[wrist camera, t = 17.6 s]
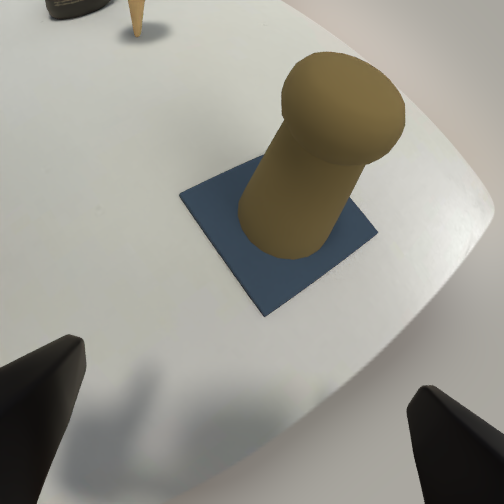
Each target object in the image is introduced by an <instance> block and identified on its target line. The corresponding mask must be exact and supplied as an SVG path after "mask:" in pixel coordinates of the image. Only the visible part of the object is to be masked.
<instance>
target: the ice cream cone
mask: <svg viewBox="0 0 504 504" xmlns="http://www.w3.org/2000/svg"><path fill="white" fill-rule="evenodd" d="M144 2H145V0H128V3H129V8H130V14H131V20H132V25H133V31H134V35H135V36H136V37H139V36H140V34H141V28H142V18H143V10H144Z"/></svg>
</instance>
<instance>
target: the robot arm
mask: <svg viewBox="0 0 504 504" xmlns="http://www.w3.org/2000/svg"><path fill="white" fill-rule="evenodd" d="M85 371H86V355H85V344H84V341H83V339H82V338H80V337H77V336H74V335H70V334H68V335H65V336H63V337H61V338H59V339H57V340H55V341H53V342H51V343H49V344H47V345H45V346H43V347H41V348H39V349H37V350H35V351H33V352H31V353H29V354H27V355H25V356H23V357H21V358H19V359H17V360H15V361H13V362H11V363H9V364H7V365H5V366H3V367H1V368H0V504H37V501H38V498H39V495H40V493H41V490H42V487H43V485H44V482H45V479H46V477H47V474H48V472H49V469H50V466H51V464H52V461H53V459H54V457H55V454H56V452H57V449H58V447H59V445H60V442H61V440H62V437H63V435H64V433H65V431H66V428H67V426H68V423H69V421H70V418H71V415H72V412H73V408H74V405H75V402H76V399H77V396H78V393H79V389H80V386H81V383H82V381H83V378H84V375H85ZM407 418H408V424H409V429H410V435H411V442H412V448H413V454H414V459H415V463H416V467H417V471H418V475H419V479H420V484H421V488H422V492H423V497H424V502H425V504H504V434H503V433H501V432H500V431H499V430H497V429H496V428H494V427H493V426H491V425H490V424H488V423H487V422H486V421H484V420H483V419H481V418H480V417H478V416H477V415H475V414H474V413H473V412H471V411H470V410H468V409H467V408H465V407H464V406H462V405H461V404H460V403H458V402H457V401H455V400H454V399H452V398H451V397H449V396H448V395H447V394H445V393H444V392H442V391H441V390H440V389H438V388H437V387H435V386H433V385H429V386H428V385H426V386H422V387H420V388H419V389H418V391H417V393H416V394H415V395H414V397H413V398H412V400H411V402H410V403H409V405H408V407H407Z"/></svg>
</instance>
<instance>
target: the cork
mask: <svg viewBox="0 0 504 504" xmlns="http://www.w3.org/2000/svg"><path fill="white" fill-rule="evenodd" d="M281 105H282V116H283V118H284V121H283V123H282V125H281V126H280V128H279V130H278V131H277V133H276V135H275V137H274V138H273V140H272V142H271V144H270V145H269V147H268V149H267V151H266V152H265V154H264V156H263V158H262V159H261V161H260V163H259V165H258V167H257V168H256V170H255V172H254V174H253V175H252V177H251V179H250V181H249V183H248V184H247V186H246V188H245V190H244V192H243V194H242V196H241V198H240V200H239V203H238V218H239V222H240V225H241V228H242V230H243V232H244V233H245V235H246V236H247V237H248V239H249V240H250V242H251V243H253V244H254V245H255V246H256V247H258V248H259V249H260V250H261V251H263V252H265V253H267V254H269V255H272V256H274V257H277V258H282V259H291V260H295V259H300V258H304V257H308V256H310V255H311V254H313V253H315V252H316V251H318V250H319V249H320V248H321V247H322V245H323V244H324V243H325V241H326V240H327V238H328V236H329V235H330V233H331V231H332V229H333V227H334V225H335V223H336V221H337V220H338V218H339V216H340V214H341V212H342V210H343V208H344V206H345V204H346V202H347V200H348V198H349V196H350V195H351V193H352V191H353V189H354V187H355V185H356V183H357V181H358V179H359V177H360V175H361V173H362V171H363V169H364V167H365V165H366V164H370V163H372V162H374V161H376V160H378V159H380V158H381V157H383V156H384V155H386V154H387V153H389V152H390V150H391V149H392V148H393V147H394V145H395V144H396V143H397V141H398V140H399V138H400V136H401V135H402V132H403V129H404V127H405V103H404V101H403V99H402V96H401V94H400V93H399V91H398V90H397V88H396V87H395V86H394V85H393V83H392V82H391V81H390V79H388V78H387V77H386V76H385V75H384V74H383V73H382V72H381V71H379V70H378V69H376V68H375V67H373V66H372V65H370V64H369V63H367V62H365V61H362V60H360V59H358V58H356V57H353V56H350V55H346V54H343V53H335V52H318V53H313V54H311V55H309V56H307V57H306V58H304V59H302V60H301V61H299V62H298V63H296V64H295V66H294V67H293V69H292V70H291V71H290V73H289V75H288V76H287V78H286V80H285V82H284V85H283V88H282V92H281Z"/></svg>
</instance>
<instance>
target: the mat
mask: <svg viewBox="0 0 504 504" xmlns="http://www.w3.org/2000/svg"><path fill="white" fill-rule="evenodd" d="M263 156H264V155H261V156H259V157H257V158H255V159H252V160H250V161H248V162H245V163H243V164H241V165H239V166H237V167H234V168H232V169H230V170H228V171H226V172H224V173H221V174H219V175H217V176H215V177H213V178H211V179H209V180H206V181H204V182H202V183H200V184H198V185H196V186H194V187H192V188H190V189H188V190H186V191H184V192H182V193H180V194H179V196H180V198H181V199H182V201H183V202H184V204H185V205H186V207H187V208H188V210H189V211H190V212H191V214H192V215H193V217H194V218H195V220H196V221H197V223H198V224H199V225H200V227H201V228H202V230H203V231H204V233H205V234H206V236H207V237H208V238H209V240H210V241H211V243H212V244H213V246H214V247H215V248H216V250H217V251H218V253H219V254H220V256H221V257H222V258H223V260H224V261H225V263H226V264H227V266H228V267H229V268H230V270H231V271H232V273H233V274H234V275H235V277H236V278H237V280H238V281H239V282H240V284H241V285H242V287H243V288H244V289H245V291H246V292H247V294H248V295H249V296H250V298H251V299H252V301H253V302H254V303H255V305H256V306H257V308H258V309H259V310H260V312H261V313H262V314H263V316H264V317H265V316H267V315H268V314H270V313H271V312H272V311H274V310H275V309H277V308H278V307H280V306H281V305H282V304H284V303H285V302H287V301H288V300H289V299H291V298H292V297H294V296H295V295H296V294H298V293H299V292H301V291H302V290H303V289H305V288H306V287H307V286H309V285H310V284H312V283H313V282H314V281H316V280H317V279H318V278H320V277H321V276H322V275H324V274H325V273H327V272H328V271H329V270H331V269H332V268H333V267H335V266H336V265H337V264H339V263H340V262H341V261H343V260H344V259H345V258H346V257H348V256H349V255H350V254H352V253H353V252H354V251H356V250H357V249H358V248H360V247H361V246H362V245H363V244H365V243H366V242H367V241H369V240H370V239H371V238H372V237H374V236H375V235H376V234H377V233H378V231H377V230H376V229H375V228H374V226H373V225H372V224H371V223H370V221H369V220H368V219H367V218H366V216H365V215H364V214H363V213H362V211H361V210H360V209H359V208H358V207H357V205H356V204H355V203H354V202H353V201H352V199H351V198H350V197H349V198H348V200H347V202H346V204H345V206H344V208H343V210H342V212H341V214H340V216H339V218H338V220H337V221H336V223H335V225H334V227H333V229H332V231H331V233H330V235H329V236H328V238H327V240H326V241H325V243H324V244H323V245H322V247H321V248H320V249H319V250H318V251H316V252H315V253H313V254H311V255H310V256H308V257H304V258H300V259H295V260H291V259H282V258H277V257H274V256H272V255H269V254H267V253H265V252H263V251H261V250H260V249H259V248H258V247H256V246H255V245H254V244H253V243H251V242H250V240H249V239H248V237H247V236H246V235H245V233H244V232H243V230H242V228H241V225H240V222H239V218H238V203H239V200H240V198H241V196H242V194H243V192H244V190H245V188H246V186H247V184H248V183H249V181H250V179H251V177H252V175H253V174H254V172H255V170H256V168H257V167H258V165H259V163H260V161H261V159H262V158H263Z"/></svg>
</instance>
